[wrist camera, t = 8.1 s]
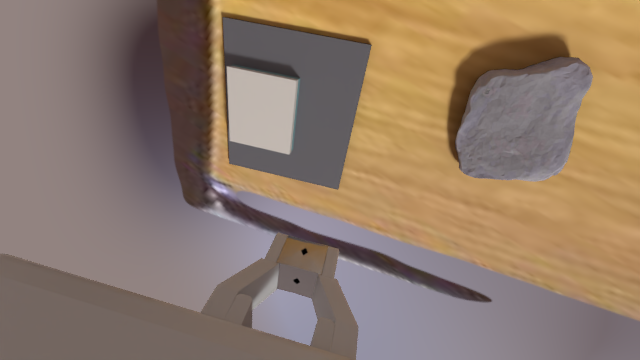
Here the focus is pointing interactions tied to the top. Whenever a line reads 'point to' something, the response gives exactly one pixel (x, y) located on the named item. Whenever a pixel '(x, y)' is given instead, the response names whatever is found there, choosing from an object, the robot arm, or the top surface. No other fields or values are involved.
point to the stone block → (522, 120)
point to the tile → (262, 108)
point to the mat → (302, 96)
